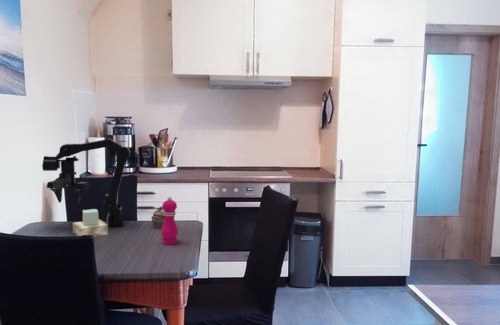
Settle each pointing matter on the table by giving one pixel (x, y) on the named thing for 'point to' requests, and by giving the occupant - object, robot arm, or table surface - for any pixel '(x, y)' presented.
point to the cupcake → (158, 218)
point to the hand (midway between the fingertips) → (68, 202)
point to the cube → (90, 217)
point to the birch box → (90, 229)
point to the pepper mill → (169, 222)
